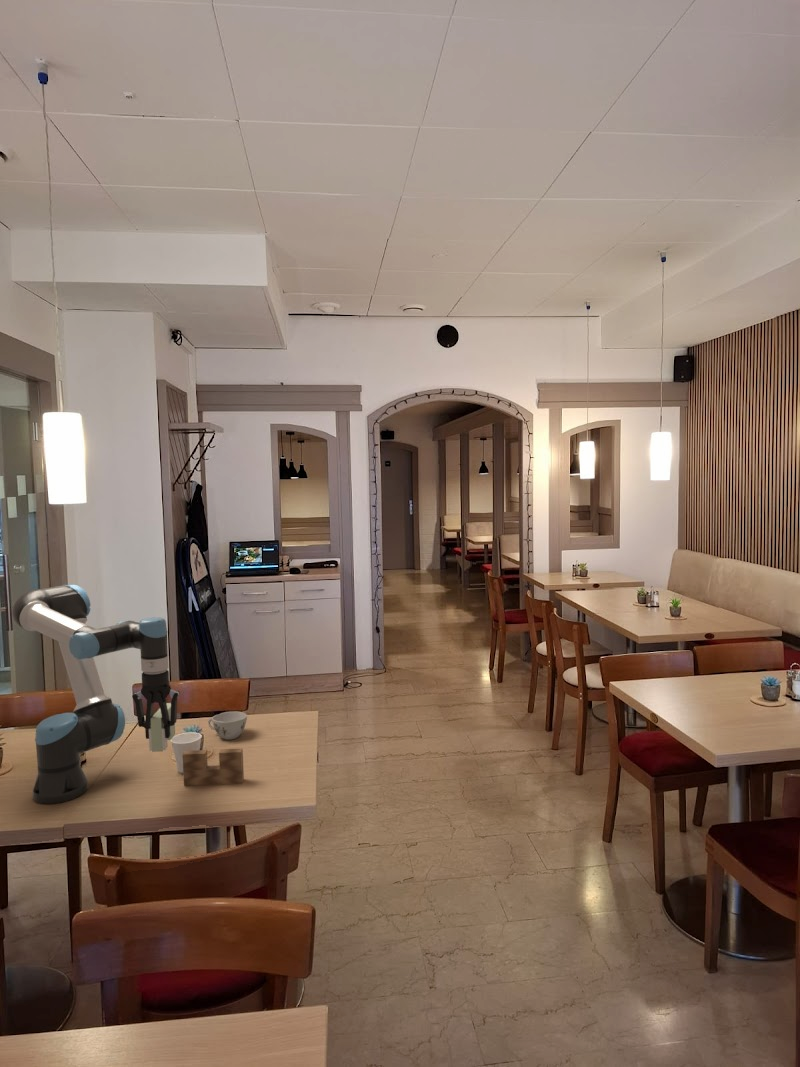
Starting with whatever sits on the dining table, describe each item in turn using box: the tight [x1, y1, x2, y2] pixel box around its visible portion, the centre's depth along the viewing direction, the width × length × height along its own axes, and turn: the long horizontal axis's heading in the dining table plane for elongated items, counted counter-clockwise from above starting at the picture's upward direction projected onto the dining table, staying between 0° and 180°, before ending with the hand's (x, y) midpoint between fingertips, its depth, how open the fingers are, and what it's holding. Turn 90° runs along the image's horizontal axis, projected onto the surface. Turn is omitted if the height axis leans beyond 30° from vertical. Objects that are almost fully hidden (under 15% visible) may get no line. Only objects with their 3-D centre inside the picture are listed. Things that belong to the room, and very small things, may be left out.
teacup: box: [207, 710, 248, 741], centre depth 261 cm, size 15×12×8 cm
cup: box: [169, 731, 203, 774], centre depth 232 cm, size 10×10×11 cm
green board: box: [151, 702, 176, 753], centre depth 214 cm, size 14×3×10 cm, turn 3°
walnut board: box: [182, 748, 245, 786], centre depth 222 cm, size 18×3×10 cm, turn 93°
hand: (158, 748), depth 209 cm, fingers closed on green board, 3 cm apart
